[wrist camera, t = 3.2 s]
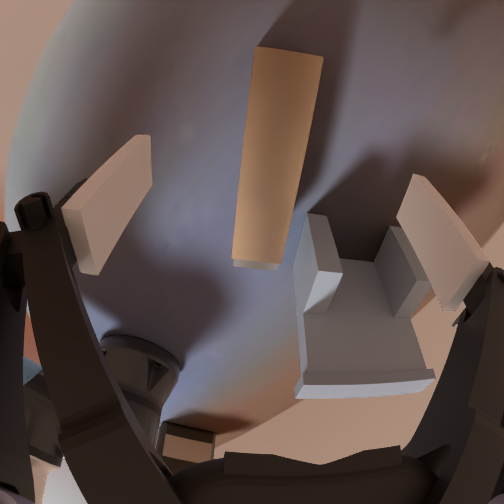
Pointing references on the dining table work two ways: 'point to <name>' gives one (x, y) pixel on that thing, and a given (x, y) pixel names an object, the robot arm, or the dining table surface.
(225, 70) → the dining table surface
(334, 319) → the grey u-shaped bracket
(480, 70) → the dining table surface
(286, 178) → the rail
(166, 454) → the bottle
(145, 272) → the dining table surface
